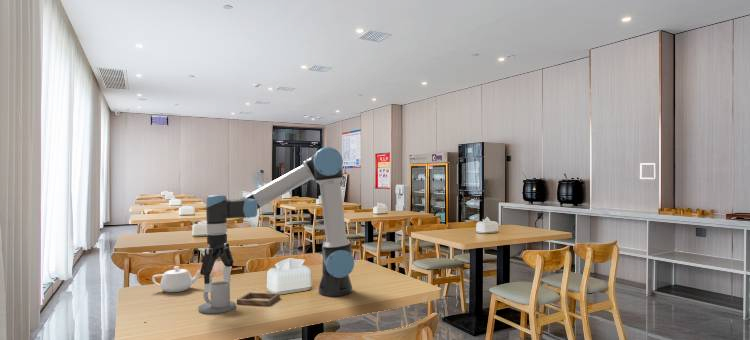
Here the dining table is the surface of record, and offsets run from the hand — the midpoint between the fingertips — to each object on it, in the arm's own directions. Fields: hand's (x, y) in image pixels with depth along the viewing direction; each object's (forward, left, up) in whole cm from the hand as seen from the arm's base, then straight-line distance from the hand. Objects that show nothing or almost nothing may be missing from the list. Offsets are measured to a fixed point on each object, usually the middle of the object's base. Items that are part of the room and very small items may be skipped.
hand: (218, 286), depth 172 cm
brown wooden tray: (-12, -12, -8) cm, 19 cm away
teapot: (+33, -22, -9) cm, 41 cm away
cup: (0, +1, -8) cm, 8 cm away
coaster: (0, 0, -8) cm, 8 cm away
